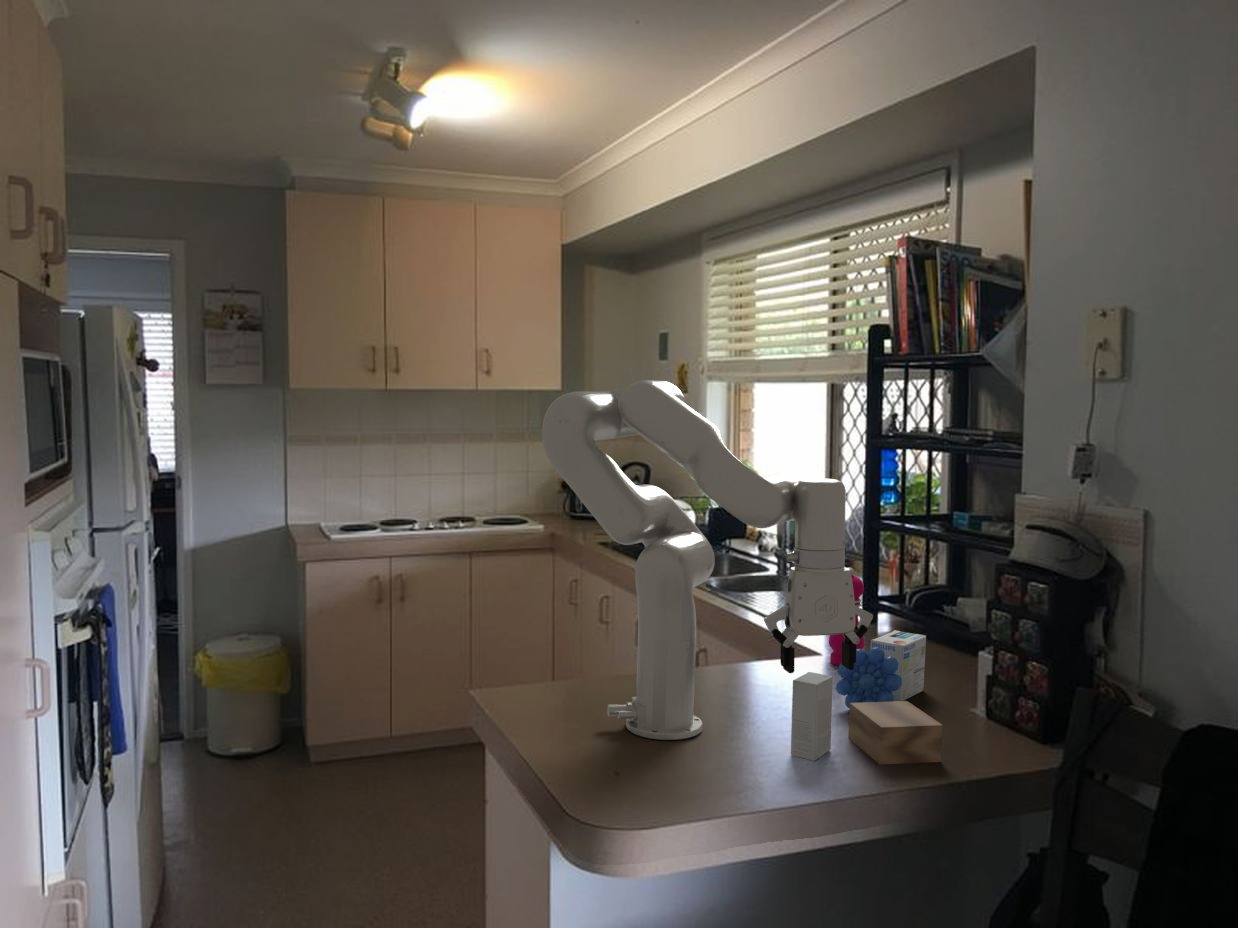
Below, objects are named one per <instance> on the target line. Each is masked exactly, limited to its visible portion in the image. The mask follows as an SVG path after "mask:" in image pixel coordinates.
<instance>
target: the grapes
mask: <svg viewBox="0 0 1238 928" xmlns="http://www.w3.org/2000/svg"><path fill="white" fill-rule="evenodd" d="M884 656H885V653H884V651H883V650H882V649H881V648H877V647H875V648H872V649H871V650H868V652H867V651H866V650H864V649H862V650H861V649H857V650H856V662H855V663H854V669H853V670H849V669H848V668H846V667H844V666H843V665H842V664H841V665H840V666H838V671H837V672H838V675H839V676H840V679H839V680H838V681H837V682H836V686H835V691H836V692H837V693H838V694H839V695H840V696H845V697H844V704H845V706H846V707H847V709H850V703H862V702H892V701H894V694H893V693H892V691H896V690H898V689H899V688H900V687H901V686H902V678H901V677H900V676H899V675H897V674H893V673H895V672H896V671H897V669H898V664H899V663H898V661H897V660H896V658H893V657H888V658H885V659H884Z"/></svg>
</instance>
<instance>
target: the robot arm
mask: <svg viewBox="0 0 1238 928" xmlns="http://www.w3.org/2000/svg"><path fill="white" fill-rule="evenodd" d="M686 402H687V401H686V399H685V396H684V394H683V393H682V391H681V389H680V388H679V387H678V386H676V385H674V384H673V383H672V382H669V381H666V380H656V379H655V380H653V379H652V380H651V379H644V380H642V379H641V380H638V381H636V382H633V383H631V384H630V385H628V386H627V387H624V388H616V389H611V390H604V391H603V390H602V391H594V390H593V391H589V390H588V391H585V390H584V391H583V390H582V391H581V390H580V391H572V392H567V393H564V394H562V395H560V396H558V397H557V398H556V399H554V400H553V401H552V402H551V403H550V405H549V406H548V408H547V410H546V412H545V414H544V417H543V421H542V426H541V427H542V428H541V438H542V439H541V440H542V444H543V448H544V451H545V454H546V457H547V458H548V460H549V462H550V464H551V465H552V467H553V468H554V470H555V471H556V472H557V473H558V475H559V476H560V477H561V478H562V479H563V481H564V482H565V483H566V484H567V485H568V486H569V488H570V489H571V490H572V491H573V492H574V493H575V495H576V496H577V497H578V499H579V500H580V501H581V503H582V504H583V505H584V507H585V508H586V509H587V510H588V511H589V513H590V514H591V515H592V516H593V518H594V519H595V520H596V521H597V523H598V524H599V526H600V527H601V528H602V529H603V530H604V531H605V533H606V534H607V536H608V537H610V538H611V539H612V540H613V541H614V542H616V543H618V544H620V545H623V546H629V545H630V546H631V545H635V544H640V543H642V544H643V545H644V549H643V550H642V551H641V552H640V554H639V556H638V557H637V560H636V562H635V563H636V564H635V570H634V580H635V581H634V582H635V589H636V590H635V591H636V598H637V656H636V657H637V658H636V661H637V662H636V688H635V689H636V693H635V694H636V696H632V697H631V701H627V702H626V703H625V704H619V703H616V704H614V703H611V704H607V708H606V712H607V717H617V720H626V722H625V725H626V726H625V727H626V729H627V730H628V731H630V733H633V734H635V735H636V736H639V737H643V738H645V739H646V738H647V739H653V740H660V741H673V740H674V741H676V740H684V739H690V738H693V737H696V736H698V735H699V734H700V733H702V731H703V726H704V724H703V721H702V720H701V718H700V717H698V716H696V715H695V714H694V710H695V709H694V708H695V678H696V677H695V675H696V649H697V648H696V647H697V646H696V644H697V643H696V642H697V614H696V613H697V612H696V604H695V597H694V588H696V587H698V586H700V585H701V584H702V583H703V584H704V582H705V581H706V580H708V579H709V577H710V576H711V575H712V573H713V571H714V568H715V565H716V564H715V563H716V562H715V561H716V560H715V552H714V550H713V547H712V545H711V543H710V541H709V540H708V538H707V537H706V536H705V534H703V532H702V531H701V530H700V529H699V527H698V526H697V525H696V524H695V523H694V522H693V520H692V519H691V518H690V517H689V516H688V514H687V513H686V512H685V511H684V510H683V508H681V506H680V505H679V504H678V503H677V501H675V499H674V498H673V497H672V496H671V495H670V494H669V493H668V492H666V491H665V490H664V489H662V488H660V487H658V486H656V485H654V484H646V483H645V484H637V485H636V484H635V483H634V482H633V481H632V480H631V479H630V477H628V476H627V475H626V473H625V472H624V471H623V470H622V468H620V467H619V465H618V464H617V463H616V461H615V460H614V459H613V458H612V457H611V456H610V455H608V454H607V453H606V452H605V451H603V450H602V449H601V447H599V446H598V445H597V443H596V442H595V441H605V440H612V439H618V438H619V439H620V438H623V437H624V438H625V437H632V436H633V437H634V436H638V435H639V436H640V437H641V438H643V439H644V440H646V441H647V442H648V443H650V444H651V445H653V447H655V448H657V449H658V450H659V451H661V452H662V453H663V454H665V455H666V456H667V457H668V458H669V459H671V460H672V461H674V462H675V464H678V465H679V466H680V467H682V469H684V471H686V473H687V474H688V475H689V478H691V479H692V480H693V481H694V482H695V484H696V485H697V486H698V487H699V488H700V489H701V490H702V491H703V493H704V494H705V495H706V496H707V497H709V498H710V499H711V500H712V501H713V502H715V503H716V504H717V505H719V506H720V507H721V508H722V509H724V510H726V511H727V512H728V513H730V515H732V516H733V517H734V518H736V519H737V520H739V521H740V522H742V523H744V524H745V525H747V526H750V527H753V528H756V529H768V528H771V527H773V526H776V525H778V524H782V523H785V522H786V523H787V522H794V524H795V525H794V547H793V551H791V552H786V554H785V555H786V556H785V559H786V561H787V562H788V563H789V562H792V563H793V565H794V566H791V567H790V571H789V575H788V578H787V584H786V591H785V593H786V594H785V602H784V606H781V607H780V608H779V609H777V610H774V611H773V612H771V613H769V614H768V615H767V616H764V618H763V621H764V624H765V626H766V628H767V630H768V631H769V634H770V635H771V636H772V637H773V638H774V639H775V640H776V641H777V643H779V644H780V661H779V662H780V665H781V667H782V668H783V670H784V671H786V672H787V673H788V674H793V673H795V650H796V649H795V647H793V646H792V645H793V643H794V642H795V640H797V638H798V637H799V636H802V637H812V636H815V637H817V636H830V635H839V634H842V635H843V636H844V637H845V640H843V641H842V665H843V666H844V667H846V668H848V669H849V670H853V669H854V663H855V662H856V644H858V643H859V641H860V638H861V637H862V636H864V635H866V633H867V632H868V628H869V627H870V625H871V622H872V620H873V618H874V614H873V613H871V612H869V611H867V610H864V609H863V608H861V607H857V606H855V600H854V591H853V583H852V577H851V572H850V569H849V567H846V566H845V561H846V557H845V556H846V548H845V547H846V542H845V541H846V497H847V496H846V485H844V483H843V482H842V481H840V480H839V479H834V478H826V477H825V478H819V477H817V478H816V477H815V478H814V477H813V478H798V477H793V476H786V475H779V474H774V475H768V476H761V475H760V474H759V473H757V472H755V470H753V469H752V468H750V467H749V466H747V465H746V464H744V463H743V462H742V461H741V460H740V459H738V457H736V456H735V455H734V454H733V453H732V452H731V451H730V450H729V448H727V446H726V444H725V443H724V440H723V437H722V433H721V431H720V430H719V427H718V426H716V425H715V424H714V423H713V422H711V421H710V420H709V419H707V418H706V417H704V416H703V415H701V414H700V413H699V412H697V411H695V409H693V407H690V406H689V405H688V404H687V403H686ZM855 614H856V615H858V618H859V623H858V624H857V625H856V626H855ZM781 620H784V625H785V628H784V630H783V631H782V632H781V630H780V629H779V627H778V624H777V623H778V622H779V621H781Z"/></svg>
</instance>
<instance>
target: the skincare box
mask: <svg viewBox="0 0 1238 928" xmlns="http://www.w3.org/2000/svg"><path fill="white" fill-rule="evenodd" d="M833 685H834V683H833V676H832V675H826V674H822V673H817V672H811V671H808V672H806V673H805V674H802V675H801V676H799V677H797V678H795V679H793V680H792V695H791V696H792V700H791V701H792V702H791V729H790V730H791V731H790V733H791V734H790V735H791V738H790V755H791V756H792V757H796V758H800V759H804V760H809V761H816V760H818V759H819V758H821V757H823V756H824V755H826V754H827V753H828V752H829V751H831V748H832V747H831V745H832V743H831V741H832V714H833Z"/></svg>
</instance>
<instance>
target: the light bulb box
mask: <svg viewBox="0 0 1238 928" xmlns="http://www.w3.org/2000/svg"><path fill="white" fill-rule="evenodd" d="M926 643H927V635H924V634H919V633H911V632H905V631H900V630H892V631H889V632H888V633H886V634H883V635H881V636H878V637H875V638H873V639H870V646H869V647H870V648H869V649H870V650H871V649H872V648H875V647H877V648H881V649H882V650H883V651H884V653H885V656H884V659H885V658H888V657H893V658H896V660H897V661H898V663H899V664H898V669H897V671H896V672H895V673H893V674H897V675H899V676H900V677H901V678H902V686H901V687H900V688H899V689H898V690H896V691H892V693H893V694H894V701H907V699H910V698H911V697H913V696H915V695H917V694H920V693H921V692H923V691H924V685H925V664H926ZM870 650H869V651H870Z"/></svg>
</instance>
